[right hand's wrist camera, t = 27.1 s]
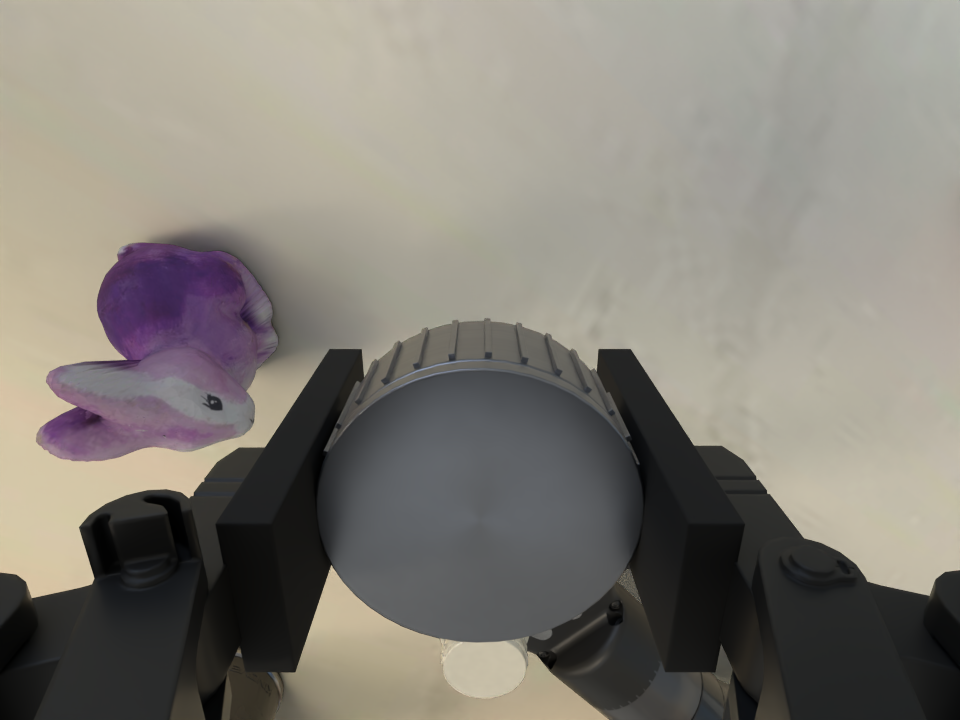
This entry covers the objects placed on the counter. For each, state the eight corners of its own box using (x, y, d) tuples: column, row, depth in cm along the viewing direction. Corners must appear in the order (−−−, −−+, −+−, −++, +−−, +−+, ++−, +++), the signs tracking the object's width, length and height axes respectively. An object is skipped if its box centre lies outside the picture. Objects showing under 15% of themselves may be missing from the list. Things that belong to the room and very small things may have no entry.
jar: (521, 459, 44) (544, 641, 28) (505, 512, 45) (519, 710, 30) (458, 446, 43) (446, 625, 28) (445, 500, 45) (427, 695, 30)
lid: (287, 467, 13) (246, 541, 10) (456, 254, 11) (449, 289, 9) (498, 599, 14) (501, 691, 12) (677, 429, 12) (721, 498, 10)
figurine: (303, 377, 41) (213, 510, 27) (154, 372, 41) (-14, 503, 27) (293, 240, 37) (183, 312, 24) (129, 234, 37) (-79, 303, 23)
